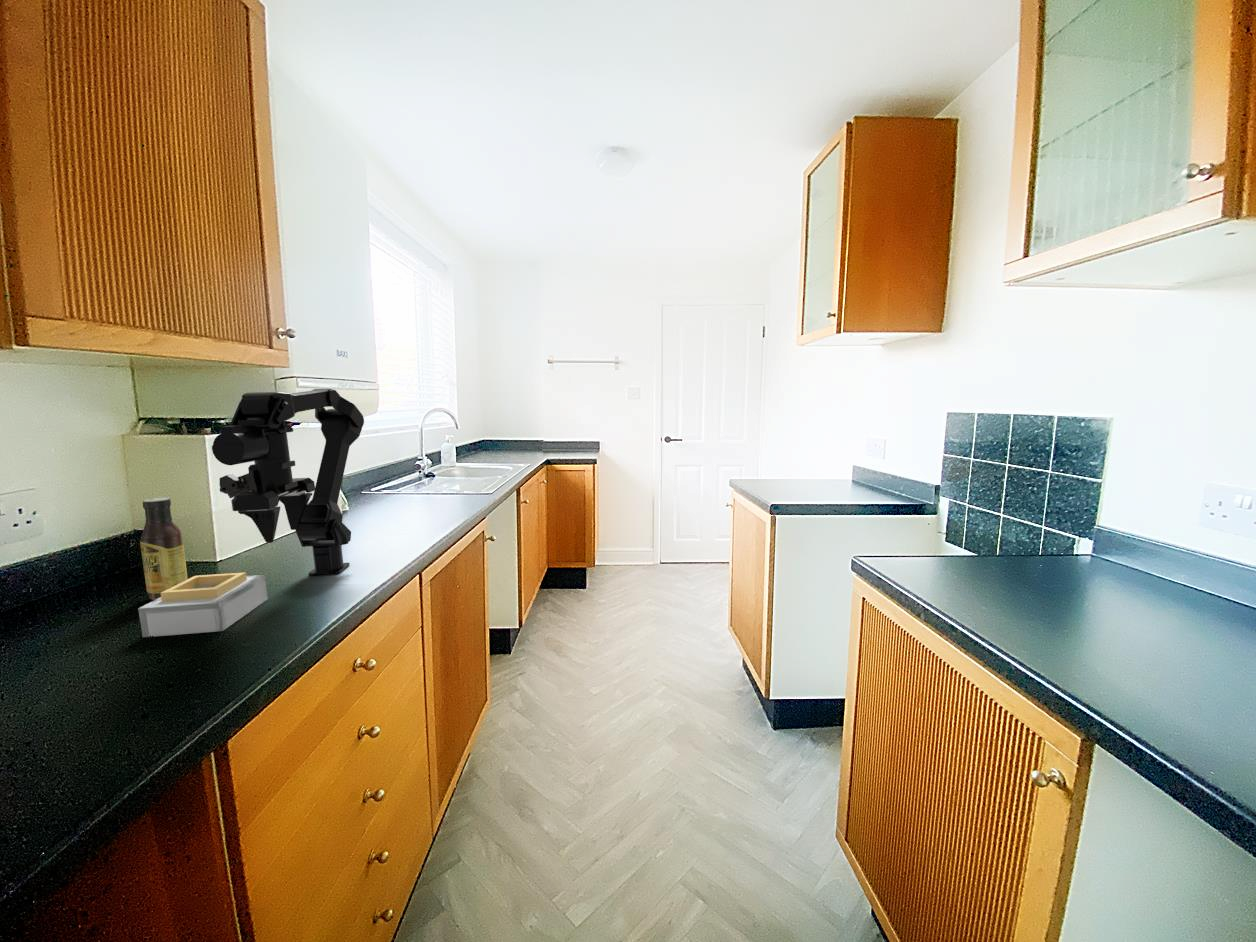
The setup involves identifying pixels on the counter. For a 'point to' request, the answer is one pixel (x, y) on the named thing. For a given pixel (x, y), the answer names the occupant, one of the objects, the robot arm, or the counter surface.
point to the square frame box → (203, 604)
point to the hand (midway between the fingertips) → (282, 535)
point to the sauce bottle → (161, 548)
